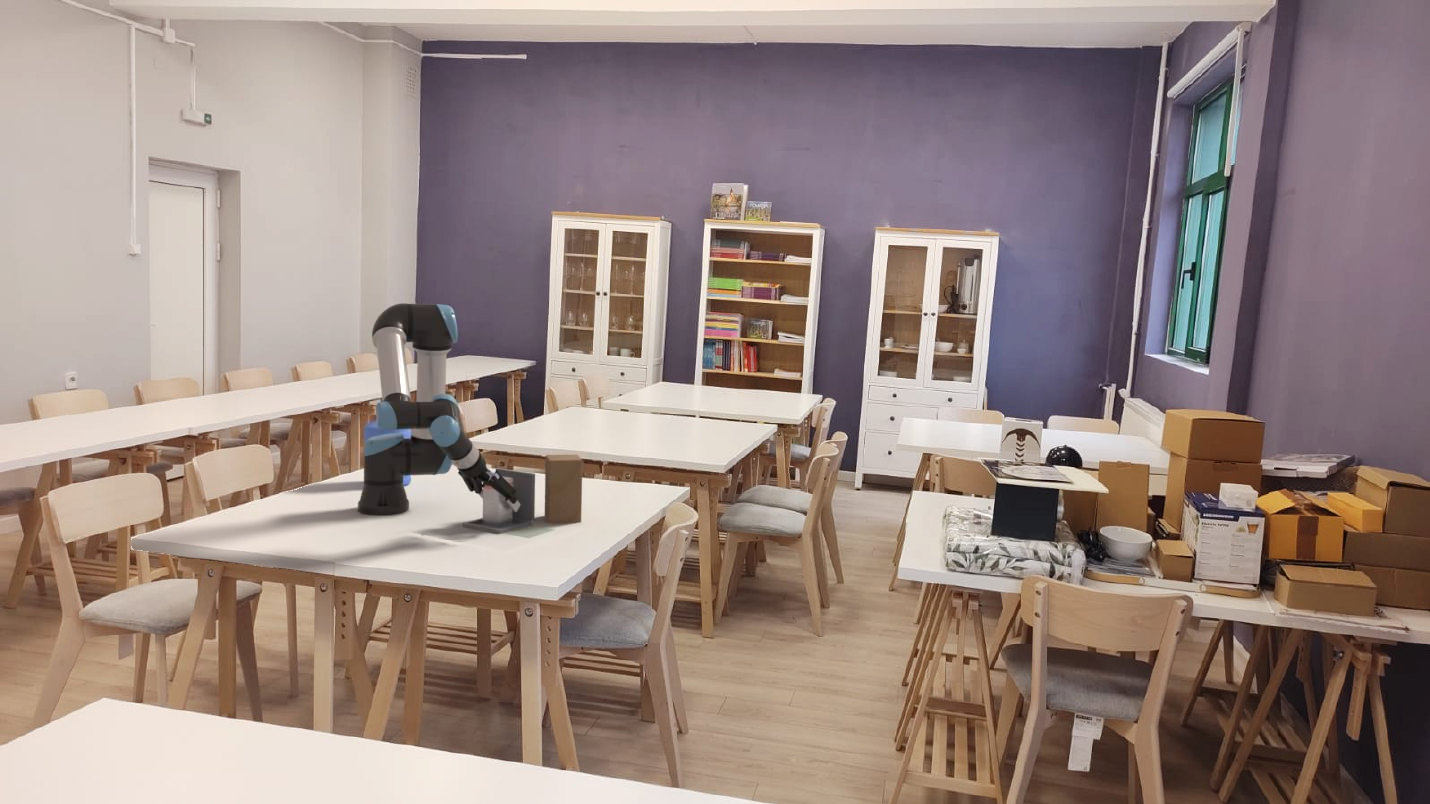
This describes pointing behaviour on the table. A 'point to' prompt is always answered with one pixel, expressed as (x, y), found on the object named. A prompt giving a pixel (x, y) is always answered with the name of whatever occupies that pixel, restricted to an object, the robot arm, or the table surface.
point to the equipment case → (525, 497)
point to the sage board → (531, 531)
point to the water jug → (373, 430)
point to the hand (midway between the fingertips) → (505, 505)
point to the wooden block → (563, 488)
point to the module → (496, 507)
